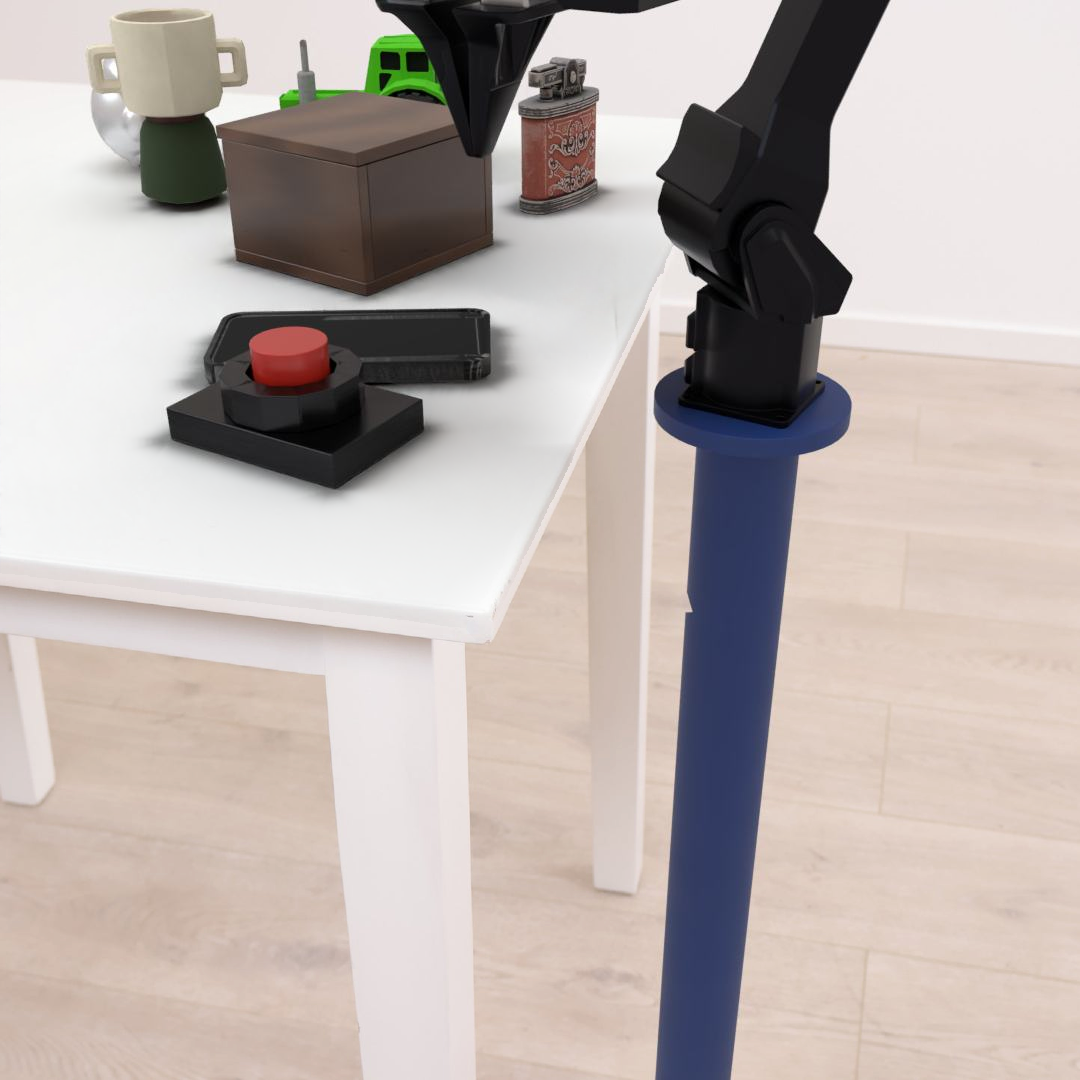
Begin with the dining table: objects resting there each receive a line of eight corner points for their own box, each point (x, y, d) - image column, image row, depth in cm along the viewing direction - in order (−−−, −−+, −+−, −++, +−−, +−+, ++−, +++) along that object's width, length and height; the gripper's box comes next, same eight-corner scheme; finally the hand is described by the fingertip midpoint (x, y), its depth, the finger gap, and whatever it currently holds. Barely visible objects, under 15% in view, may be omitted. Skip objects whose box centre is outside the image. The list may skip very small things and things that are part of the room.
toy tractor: (296, 149, 111) (284, 23, 106) (488, 150, 110) (485, 24, 105) (268, 184, 101) (254, 48, 96) (478, 186, 101) (474, 49, 96)
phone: (490, 361, 68) (199, 365, 67) (491, 381, 68) (202, 385, 68) (490, 307, 75) (225, 310, 74) (490, 325, 75) (227, 329, 75)
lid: (216, 138, 82) (215, 125, 82) (355, 102, 91) (354, 90, 90) (357, 166, 76) (356, 152, 75) (491, 125, 85) (491, 112, 84)
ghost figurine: (78, 179, 103) (53, 45, 98) (129, 149, 111) (109, 24, 106) (187, 184, 101) (168, 48, 96) (231, 153, 109) (215, 27, 104)
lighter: (570, 184, 101) (571, 48, 96) (607, 190, 100) (610, 53, 94) (508, 209, 96) (506, 65, 90) (546, 216, 94) (546, 71, 89)
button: (346, 369, 62) (343, 335, 61) (297, 396, 59) (293, 361, 59) (287, 354, 64) (283, 321, 63) (237, 380, 61) (232, 345, 60)
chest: (236, 260, 86) (221, 139, 82) (367, 214, 94) (359, 103, 90) (366, 296, 80) (357, 167, 76) (493, 244, 89) (491, 126, 85)
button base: (425, 430, 64) (421, 363, 62) (335, 489, 58) (328, 418, 57) (267, 388, 68) (259, 324, 66) (170, 439, 63) (159, 371, 61)
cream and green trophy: (257, 182, 102) (237, 3, 95) (264, 207, 96) (244, 19, 89) (112, 192, 99) (81, 10, 93) (110, 219, 94) (77, 26, 87)
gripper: (160, -228, 52) (211, 168, 60) (571, -228, 44) (567, 231, 51) (336, -229, 60) (360, 120, 68) (709, -229, 52) (687, 167, 60)
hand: (479, 156), depth 62 cm, fingers closed
